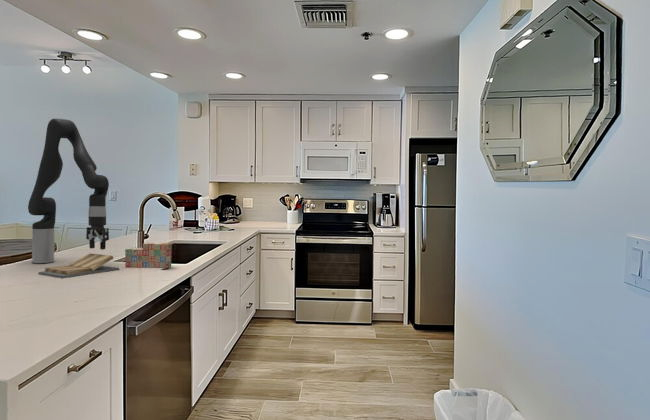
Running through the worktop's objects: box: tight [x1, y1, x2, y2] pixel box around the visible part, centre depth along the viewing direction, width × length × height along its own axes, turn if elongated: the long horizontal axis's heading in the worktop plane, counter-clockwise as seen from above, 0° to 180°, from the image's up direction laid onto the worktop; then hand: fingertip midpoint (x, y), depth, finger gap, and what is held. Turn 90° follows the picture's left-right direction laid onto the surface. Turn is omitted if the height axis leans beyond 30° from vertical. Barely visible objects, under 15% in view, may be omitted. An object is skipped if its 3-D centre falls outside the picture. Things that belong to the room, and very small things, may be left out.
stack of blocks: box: [124, 242, 173, 269], centre depth 203 cm, size 21×6×12 cm, turn 85°
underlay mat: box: [37, 265, 120, 279], centre depth 187 cm, size 19×26×1 cm
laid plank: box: [44, 264, 91, 275], centre depth 182 cm, size 18×10×2 cm, turn 62°
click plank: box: [68, 252, 114, 271], centre depth 191 cm, size 18×11×2 cm, turn 62°
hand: (97, 248), depth 196 cm, fingers open, 8 cm apart
